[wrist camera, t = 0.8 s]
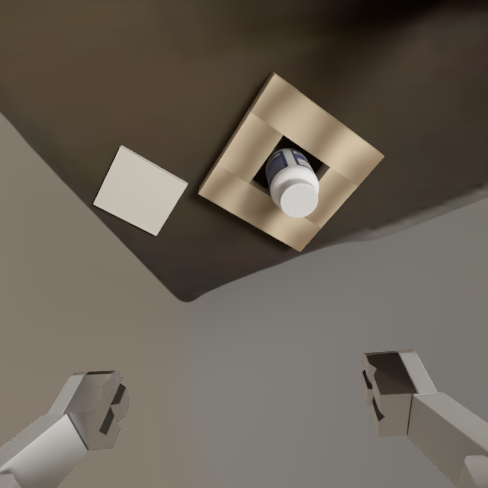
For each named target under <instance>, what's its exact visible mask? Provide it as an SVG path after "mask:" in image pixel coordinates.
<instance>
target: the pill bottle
mask: <svg viewBox="0 0 488 488" xmlns="http://www.w3.org/2000/svg"><path fill="white" fill-rule="evenodd" d="M266 177H267V181H268V185H269V189H270V194H271V197H272V200H273V201H274V203H275V204H276V205H277V206H278V207H279V208H280V209H282V211H283V212H284V213H285V214H286V215H288V216H289V217H292V218H302V217H305V216H307V215H309V214H311V213H312V212H313V211H314V209H315V208H316V206H317V204H318V193H319V182H318V179H317V177H316V175H315V173H314V171H313V170H312V168H311V166H310V164H309V162H308V161H307V159H306V157H305V156H304V155H303V154H302V153H301V152H300V151H298V150H296V149H292V148H284V149H281V150H278V151H277V152H275V153H274V154H273V155H272V156H271V157H270V158H269V160H268V162H267V164H266Z"/></svg>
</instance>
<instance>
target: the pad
mask: <svg viewBox="0 0 488 488" xmlns="http://www.w3.org/2000/svg"><path fill="white" fill-rule="evenodd" d="M187 185H188V183H187V182H185V181H183V180H182V179H180V178H178V177H176V176H175V175H173V174H171V173H169V172H168V171H166V170H164V169H162V168H161V167H159V166H157V165H155V164H154V163H152V162H150V161H148V160H147V159H145V158H143V157H141V156H140V155H138V154H136V153H134V152H133V151H131V150H129V149H128V148H126V147H124V146H122V145H121V147H120V149H119V151H118V153H117V155H116V157H115V159H114V161H113V163H112V165H111V168H110V170H109V172H108V174H107V176H106V178H105V180H104V182H103V185H102V187H101V189H100V191H99V193H98V195H97V197H96V199H95V201H94V205H96V206H97V207H99V208H101V209H103V210H105V211H107V212H109V213H111V214H113V215H115V216H117V217H119V218H121V219H123V220H125V221H127V222H129V223H131V224H133V225H135V226H137V227H139V228H141V229H143V230H145V231H147V232H149V233H151V234H153V235H155V236H157V234H158V232H159V231H160V229H161V227H162V226H163V224H164V222H165V221H166V219H167V218H168V216H169V214H170V213H171V211H172V209H173V208H174V206H175V204H176V203H177V201H178V200H179V198H180V196H181V195H182V193H183V191H184V190H185V188H186V186H187Z"/></svg>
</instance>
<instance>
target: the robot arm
mask: <svg viewBox="0 0 488 488" xmlns="http://www.w3.org/2000/svg"><path fill="white" fill-rule="evenodd" d="M363 365H364V368H365V370H364V371H363V372H362V381H363V389H364V393H365V397H366V401H367V403H368V404H369V405H370V406H371V407H372V412H371V417H372V420H373V422H374V426H375V429H376V432H377V435H378V436H408V438H409V439H410V440H411V442H413V444H414V445H415V446H416V447H417V448H418V449H419V450H420V451H421V452H422V453H423V454H424V455H425V456H426V457H427V458H428V459H429V460H430V461H431V462H432V463H433V464H434V465H435V466H436V467H437V468H438V469H439V470H440V471H441V472H442V473H443V474H444V475H445V476H446V477H447V478H448V479H449V480H450V481H451V482H452V483H453V484H454V485H455V486H456V487H457V488H488V424H487V423H486V422H485V421H483V420H482V419H480V418H479V417H477V416H476V415H475V414H473V413H472V412H470V411H469V410H467V409H466V408H465V407H463V406H462V405H460V404H459V403H457V402H456V401H454V400H453V399H452V398H450V397H449V396H447V395H446V394H445V393H438V392H437V390H436V388H435V386H434V385H433V383H432V381H431V379H430V377H429V375H428V374H427V372H426V370H425V368H424V366H423V364H422V363H421V361H420V359H419V357H418V355H417V353H416V352H415V351H414V350H399V351H386V352H373V353H364V354H363ZM121 380H122V377H121V375H120V373H119V371H98V372H80V373H74V374H73V375H71V376H70V378H69V379H68V381H67V383H66V384H65V386H64V388H63V389H62V391H61V393H60V394H59V396H58V397H57V399H56V401H55V402H54V404H53V406H52V407H51V409H50V411H49V412H48V414H47V415H42V416H41V417H40V418H38V419H37V420H36V421H35V422H33V423H32V424H31V425H29V426H28V427H27V428H26V429H24V430H23V431H22V432H21V433H19V434H18V435H17V436H15V437H14V438H13V439H12V440H10V441H9V442H8V443H6V444H5V445H4V446H2V447H1V448H0V488H56V487H57V486H58V485H59V484H60V483H61V482H62V481H63V479H64V478H65V477H66V476H67V475H68V474H69V473H70V472H71V470H72V469H73V468H74V467H75V466H76V465H77V463H79V462H80V460H81V459H82V458H83V457H84V456H85V455H86V454H87V453H88V451H87V450H100V449H112V448H113V447H114V444H115V442H116V439H117V437H118V434H119V431H120V426H119V424H118V423H119V422H120V421H121V420H122V419H123V418H124V417H125V415H126V413H127V410H128V405H129V394H128V391H127V388H126V387H125V386H124V385H122V384H121V383H120V382H121Z"/></svg>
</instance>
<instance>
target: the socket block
mask: <svg viewBox="0 0 488 488" xmlns="http://www.w3.org/2000/svg"><path fill="white" fill-rule="evenodd" d="M283 135H284V136H286V137H287V138H289V139H290V140H292V141H293V142H294V143H296V144H297V145H299V146H300V147H302V148H303V149H305V150H306V151H307V152H309V153H310V154H312V155H313V156H315V157H316V158H318V159H319V160H321V161H322V162H323V164H322V166H321V167H320V168H319V169H318V171H317V172H316V173H315V175H316V177H317V179H318V182H319V193H318V204H317V206H316V208H315V209H314V211H313V212H312V213H311V214H309V215H307V216H305V217H302V218H292V217H289V216H288V215H286V214H285V213H284V212H283V211H282V209H280V208H279V207H278V206H277V205H276V204H275V203H274V201H273V200H272V197H271V194H270V189H268V188H267V187H265V186H263V185H262V184H260V183H259V182H257V181H255V180H254V179H253V177H254V176H255V175H256V173H257V172H258V170H259V169H260V167H261V166H262V165H263V163H264V162H265V160H266V159H267V158H268V156H269V155H270V153H271V152H272V150H273V149H274V148H275V146H276V145H277V143H278V142H279V141H280V139H281V138H282V136H283ZM383 158H384V155H382V154H381V153H380V152H379V151H378V150H377V149H375V148H374V147H373V146H371V145H370V144H369V143H367V142H366V141H365V140H363V139H362V138H361V137H359V136H358V135H357V134H355V133H354V132H353V131H351V130H350V129H349V128H347V127H346V126H345V125H343V124H342V123H341V122H339V121H338V120H337V119H336V118H334V117H333V116H332V115H330V114H329V113H328V112H326V111H325V110H324V109H322V108H321V107H320V106H318V105H317V104H316V103H314V102H313V101H312V100H310V99H309V98H308V97H306V96H305V95H304V94H302V93H301V92H300V91H298V90H297V89H296V88H294V87H293V86H292V85H290V84H289V83H288V82H286V81H285V80H284V79H282V78H281V77H280V76H278V75H277V74H276V73H274V72H273V71H272V73H271V74H270V76H269V77H268V79H267V81H266V82H265V84H264V85H263V87H262V88H261V90H260V92H259V93H258V95H257V96H256V98H255V100H254V101H253V103H252V104H251V106H250V108H249V109H248V111H247V112H246V114H245V115H244V117H243V119H242V120H241V122H240V123H239V125H238V127H237V128H236V130H235V131H234V133H233V134H232V136H231V138H230V139H229V141H228V142H227V144H226V146H225V147H224V149H223V150H222V152H221V153H220V155H219V157H218V158H217V160H216V161H215V163H214V165H213V166H212V168H211V169H210V171H209V173H208V174H207V176H206V177H205V179H204V180H203V182H202V184H201V185H200V188H199V193H198V194H199V195H201V196H203V197H205V198H206V199H208V200H210V201H212V202H213V203H215V204H217V205H219V206H220V207H222V208H224V209H226V210H227V211H229V212H231V213H233V214H234V215H236V216H238V217H240V218H241V219H243V220H245V221H247V222H248V223H250V224H252V225H254V226H256V227H257V228H259V229H261V230H263V231H264V232H266V233H268V234H270V235H271V236H273V237H275V238H277V239H278V240H280V241H282V242H284V243H285V244H287V245H289V246H291V247H292V248H294V249H296V250H298V251H299V252H300V251H301V250H302V249H303V248H304V247H305V246H306V245H307V243H308V242H309V241H310V240H311V239H312V238H313V237H314V236H315V234H316V233H317V232H318V231H319V230H320V229H321V228H322V226H323V225H324V224H325V223H326V222H327V221H328V220H329V219H330V217H331V216H332V215H333V214H334V213H335V212H336V211H337V210H338V208H339V207H340V206H341V205H342V204H343V203H344V202H345V200H346V199H347V198H348V197H349V196H350V195H351V194H352V193H353V191H354V190H355V189H356V188H357V187H358V186H359V185H360V184H361V182H362V181H363V180H364V179H365V178H366V177H367V176H368V174H369V173H370V172H371V171H372V170H373V169H374V168H375V167H376V165H377V164H378V163H379V162H380V161H381V160H382V159H383Z"/></svg>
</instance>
